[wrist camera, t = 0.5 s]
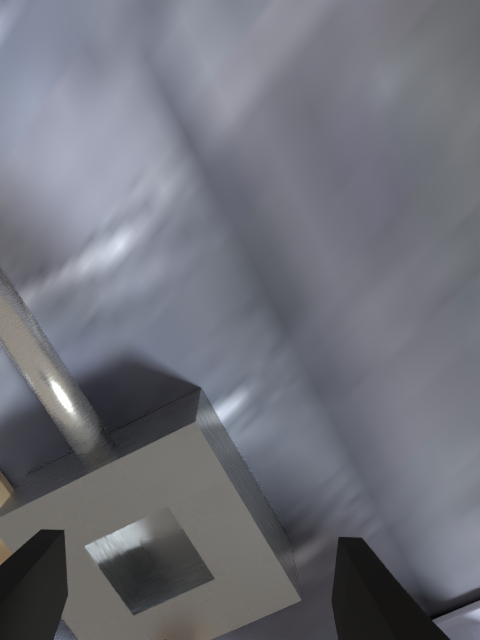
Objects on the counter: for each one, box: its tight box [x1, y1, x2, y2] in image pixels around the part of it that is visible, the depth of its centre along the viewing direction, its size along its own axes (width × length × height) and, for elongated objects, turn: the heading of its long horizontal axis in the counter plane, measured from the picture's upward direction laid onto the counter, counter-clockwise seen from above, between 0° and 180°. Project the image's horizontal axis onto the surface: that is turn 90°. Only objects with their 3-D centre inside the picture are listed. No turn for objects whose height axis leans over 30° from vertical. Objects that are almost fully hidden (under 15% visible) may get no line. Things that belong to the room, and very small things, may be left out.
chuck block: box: [0, 267, 302, 640], centre depth 20 cm, size 19×10×4 cm, turn 27°
